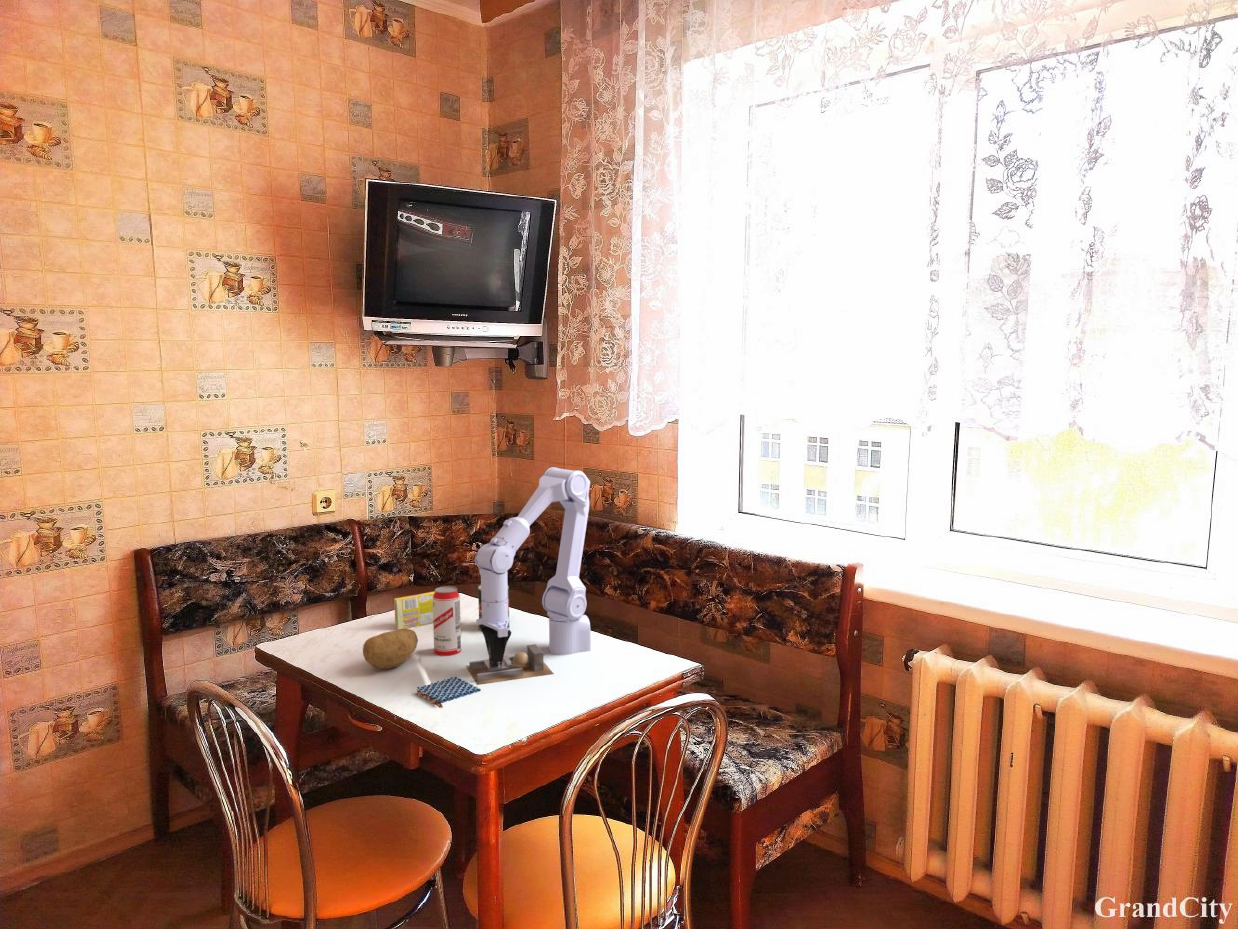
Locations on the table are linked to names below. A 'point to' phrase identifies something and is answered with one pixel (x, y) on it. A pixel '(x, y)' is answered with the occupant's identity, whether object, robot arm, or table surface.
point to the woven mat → (446, 690)
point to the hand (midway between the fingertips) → (495, 659)
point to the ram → (497, 664)
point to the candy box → (413, 610)
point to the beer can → (446, 621)
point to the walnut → (521, 660)
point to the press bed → (531, 670)
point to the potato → (390, 648)
